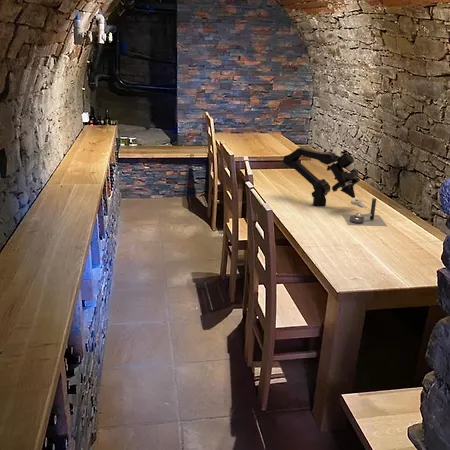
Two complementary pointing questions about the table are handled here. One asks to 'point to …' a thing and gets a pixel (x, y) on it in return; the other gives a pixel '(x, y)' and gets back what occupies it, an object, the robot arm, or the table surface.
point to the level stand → (365, 221)
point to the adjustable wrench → (359, 203)
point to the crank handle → (360, 217)
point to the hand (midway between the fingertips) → (354, 197)
